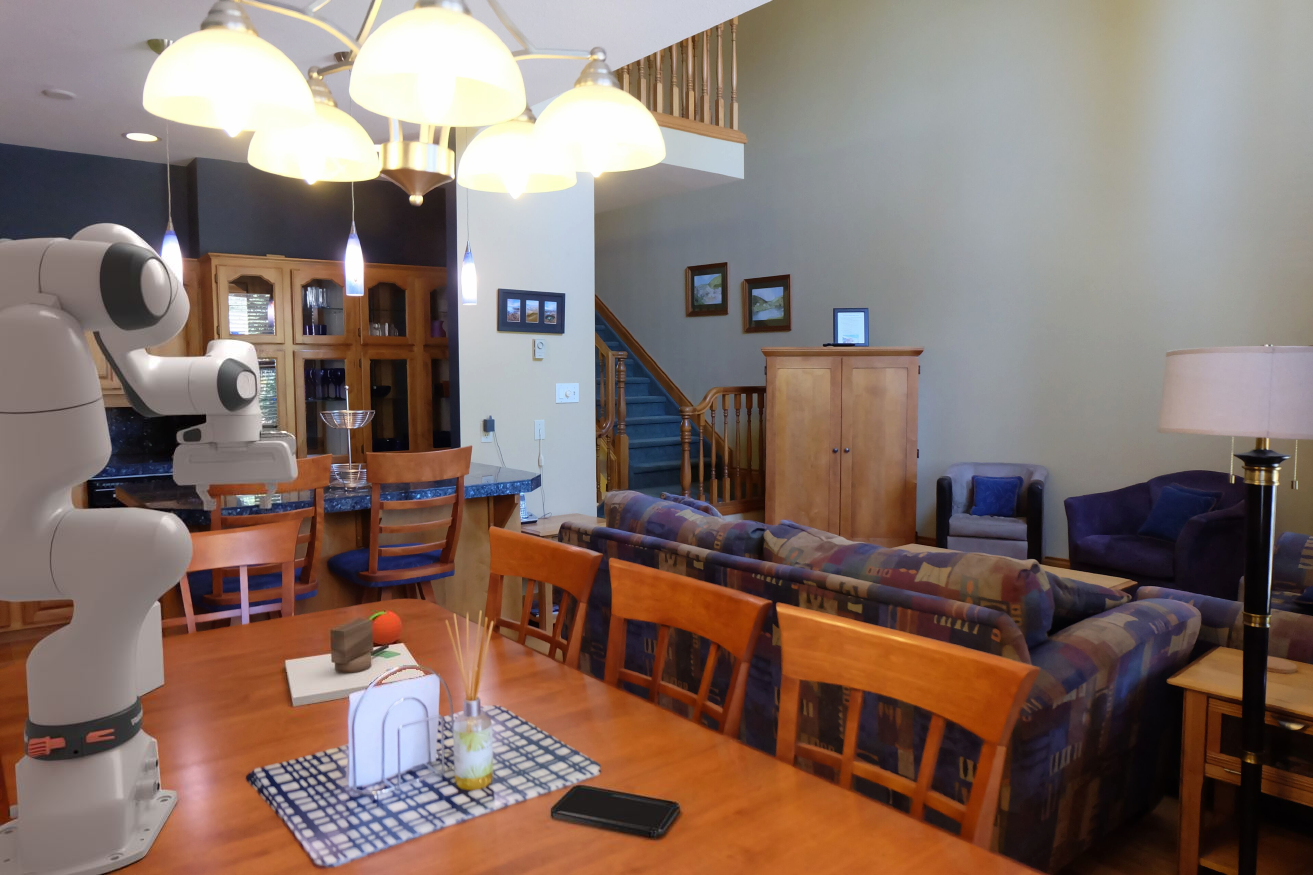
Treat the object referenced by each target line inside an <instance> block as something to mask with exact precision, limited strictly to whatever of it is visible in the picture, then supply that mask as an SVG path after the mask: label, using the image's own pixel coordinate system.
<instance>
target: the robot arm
mask: <svg viewBox="0 0 1313 875" xmlns="http://www.w3.org/2000/svg"><path fill="white" fill-rule="evenodd" d="M190 308H191V306H190V300H189V296H188V294H187V291H186V290H185V287H184V285H183V284H182V282H181V281H180V280H179V278H178V277H177V276H176V274H175V273H174V271H173V270H172V269H171V268H170V266H169V265H168V264H167V263H166V261H165V260H164V259H163V258H162V257H161V255H160V254H159V252H158V253H157V252H156V250H155V249H154V248H153V247H152V246H151V245H149V244H148V243H147V242H146V241H145V240H144V239H143V238H142V237H140V235H138V234H137V233H136V232H134V231H133V230H131V229H130V228H128V227H126V226H124V225H120V224H116V223H111V222H110V223H109V222H107V223H106V222H103V223H96V224H92V225H89V226H88V225H87V226H86V227H84V228H82V229H80V230H79V231H78V232H76V233H75V234H74V235H73V237H71V239H68V238H66V237H39V238H37V237H36V238H25V239H24V238H23V239H16V240H13V239H11V238H0V601H3V602H4V601H5V602H12V603H16V602H34V601H35V602H39V601H59V600H61V601H62V600H72V601H73V614H72V618H71V621H70V623H69V624H66V625H64V626H63V627H61V628H59V629H57V630H55V631H54V632H52V633H50V634H49V635H47V636H44V638H43V639H41V640H40V641H39V642H37V644H35V646H34V647H33V649H32V650H31V652H30V653H29V655H28V657H27V659H26V663H25V670H26V686H27V687H26V688H27V701H28V704H27V705H28V715H27V717H26V719H25V722H24V723H25V724H24V725H25V727H24V730H23V740H24V754H25V755H24V756H23V757H22V758H20V759H19V761H18V762H17V763H15V765H14V766H15V769H14V770H15V779H16V780H15V782H16V783H15V784H16V796H17V797H16V798H17V799H16V800H17V804H14V805H11V806H9V809H8V810H7V812H8V813H7V814H8V817H9V818H10V819H12V820H10V821H8V822H6V823H4V824H2V825H0V875H102V874H105V873H109V872H112V871H114V870H117V869H120V868H122V867H125V866H128V865H130V864H132V863H135V862H136V861H139V860H140V859H142V858H144V857H145V856H146V855H147V854H148V852H149V850H150V849H151V847H152V846H153V843H154V842H155V841H156V839H157V836H158V835H159V833H160V832H161V830H162V828H163V826H164V824H165V823H166V821H167V819H168V818H169V816H170V815H171V813H172V811H173V810H174V808H175V807H176V806H175V805H176V804H177V803H178V800H179V799H178V794H177V793H178V792H177V791H176V790H171V789H162V783H161V774H160V772H161V771H160V760H159V748H158V741H157V739H156V738H154V737H152V736H151V735H149V734H148V733H146V732H145V731H144V730H143V729H142V727H143V722H144V721H143V714H144V710H143V709H144V708H143V705H142V701H141V700H142V699H141V696H140V697H139V696H137V690H136V652H137V641H138V636H139V632H140V629H141V626H142V623H143V621H144V619H145V617H146V615H147V614H148V612H149V610H150V609H151V607H152V606H153V605H154V604H155V602H156V601H158V600H159V599H160V598H161V597H162V596H163V595H164V594H166V593H167V592H168V591H169V590H171V589H172V588H173V587H175V586H176V585H177V584H178V583H179V582H180V581H181V579H182V578H184V576H185V575H186V572H187V571H188V570H189V567H190V564H191V561H192V558H193V548H194V547H193V540H192V536H191V533H190V531H189V529H188V527H187V526H186V524H185V523H184V522H183V520H182V519H181V518H180V517H178V515H177V514H175V513H173V512H167V511H166V512H165V511H160V510H155V509H148V508H142V507H110V508H107V507H106V508H105V507H104V508H102V507H100V508H76V507H75V506H74V504H73V500H72V499H73V498H72V493H73V492H72V491H73V488H75V487H77V486H79V485H81V484H83V483H84V482H86V481H88V480H90V479H92V478H93V477H95V476H96V475H98V474H99V473H100V472H101V471H103V470H104V469H105V467H106V466H107V464H108V463H109V461H110V458H111V456H112V450H113V448H112V441H111V436H110V431H109V424H108V420H107V413H106V407H105V403H104V396H103V391H102V386H101V381H100V377H99V373H98V369H97V366H96V363H95V362H96V361H95V359H94V356H93V353H92V350H91V347H90V346H89V343H88V340H87V338H86V333H89V332H92V334H93V337H94V340H95V341H96V344H97V346H98V348H99V349H100V351H101V353H102V355H103V356H104V358H105V360H106V361H107V363H108V364H109V366H110V368H111V369H112V371H113V372H114V373H115V374H114V375H115V376H116V378H117V379H118V381H119V383H120V384H121V387H122V390H123V393H124V394H123V395H124V396H125V399H126V401H127V402H128V404H129V405H130V407H132V409H134V411H135V412H138V413H139V414H140V415H141V416H143V417H145V418H146V417H147V418H155V417H156V418H157V417H166V416H182V415H187V416H188V415H189V416H191V415H206V418H205V419H206V422H205V423H202V424H197V425H195V426H191V427H188V428H185V429H182V430H179V431H177V433H176V440H177V442H178V443H179V445H178V446H176V448H175V451H174V453H173V460H172V479H173V481H174V482H175V484H177V485H178V486H195V492H196V493H197V494H198V496H199V497H200V499H201V500H202V501H203V510H204V511H214V510H216V509H217V498H214V499H213V498H212V497H211V496H210V494H209V493H208V490H210V485H237V484H238V485H239V484H240V485H243V484H248V485H249V484H264V486H265V490H267V493H266V494H265V496H264V497H261V498H259V499H258V500H259V509H261V510H262V509H263V510H265V509H271V508H272V498H273V497H274V495H275V493H276V492H277V490H278V484H279V483H280V484H285V483H292V482H294V481H296V479H297V478H298V476H299V475H298V474H299V470H298V463H297V462H298V461H297V457H296V452H297V448H298V447H297V439H296V437H295V435H294V434H292V433H289V432H288V431H286V430H279V431H278V430H277V431H273V430H263V415H262V414H263V412H262V410H261V406H260V395H261V388H262V387H261V386H262V385H261V373H260V365H259V358H258V355H257V351H256V348H255V346H254V345H253V344H252V343H250V342H249V341H246V340H243V339H236V338H216V339H213V340H210V341H209V342H208V343H207V346H206V352H205V355H204V356H160V355H159V356H158V355H152V354H149V353H148V352H147V350H146V349H149V348H150V349H152V348H155V347H159V346H161V345H164V344H166V343H168V342H169V341H171V340H172V339H173V338H175V337H176V336H178V334H179V333H181V331H182V329H183V328H184V326H185V325H186V323H187V321H188V318H189V314H190ZM14 818H16V819H14Z"/></svg>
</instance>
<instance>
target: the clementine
mask: <svg viewBox="0 0 1313 875" xmlns="http://www.w3.org/2000/svg"><path fill="white" fill-rule="evenodd" d="M369 619H372V626H373V643H375V644H377V645H381V646H384V645H386V644H388V645H392V644H393V643H394V642H395V641H397V640H398V639H399V638H400V636H401V634H402V631H403V623H402V620H401V618H400V617H399V616H398V615H397V614H396V613H394V612H393V611H389V610H383V611H379V612H377V613H374V614H373V615H372V616H370V617H369Z"/></svg>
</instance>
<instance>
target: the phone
mask: <svg viewBox="0 0 1313 875" xmlns="http://www.w3.org/2000/svg"><path fill="white" fill-rule="evenodd" d="M680 806H681V805H680V804H679V803H678V802H677V801H673V800H666V799H662V798H657V797H651V796H645V795H640V794H635V793H629V792H624V791H619V790H613V789H607V788H601V787H597V786H591V785H586V784H578V785H577V784H576V785H573V786H572V787H571V788H569V790H568V791H567V792H566V793H564V795H562V796H561V798H559V799H558V800H557V801H556V802H555V803H554V804H553V806H551V808H550V816H551V818H552V819H555V820H559V821H565V822H568V823H574V824H578V825H584V826H588V827H593V828H596V829H597V828H598V829H603V830H607V831H612V832H616V833H623V834H627V835H632V836H637V837H641V838H647V839H652V840H656V839H661V838H662V837H663V836H664V835H665V834H666V832H667V831H668V829H669V828H671V826H672V824H673V823H674V821H675V820H676V818H677V817H678V816H679V814H680V812H681V811H680V810H681V807H680Z"/></svg>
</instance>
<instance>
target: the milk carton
mask: <svg viewBox="0 0 1313 875" xmlns="http://www.w3.org/2000/svg"><path fill="white" fill-rule="evenodd" d="M161 611H162V608H161V602H159V601H158V600H157V601H156V602H155V604H154V605H153V606H152V607H151V609H150V610H149V612H148V614H147V615H146V617H145V619H144V621H143V623H142V626H141V629H140V632H139V636H138V641H137V652H136V690H137V696H139V697H140V698H141V697H142V696H144V695H145V694H148V693H149V692H152V691H154V690H155V689H157V688H160V687H161V686H163V685H164V684H165V673H164V672H165V670H164V653H163V652H164V651H163V632H162V612H161Z"/></svg>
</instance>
